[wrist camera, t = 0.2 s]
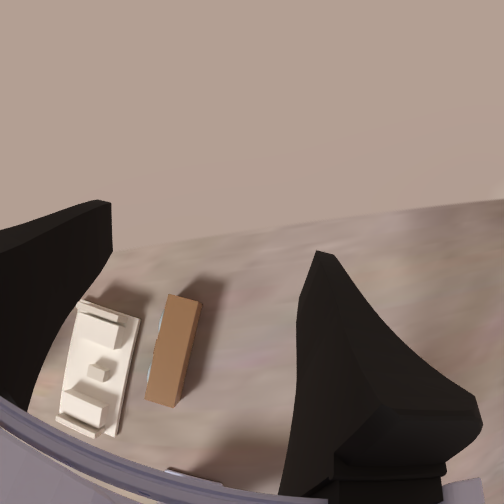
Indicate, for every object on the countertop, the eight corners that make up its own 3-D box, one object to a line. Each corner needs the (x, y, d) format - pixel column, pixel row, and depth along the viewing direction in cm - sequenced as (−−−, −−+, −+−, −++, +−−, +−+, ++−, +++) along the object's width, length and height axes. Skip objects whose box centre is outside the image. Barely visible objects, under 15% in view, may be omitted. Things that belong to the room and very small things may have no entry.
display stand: (116, 435, 36) (104, 444, 31) (62, 410, 36) (46, 417, 31) (141, 319, 40) (129, 317, 35) (83, 299, 40) (68, 296, 35)
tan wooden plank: (180, 400, 38) (173, 408, 33) (151, 391, 38) (141, 398, 33) (202, 304, 41) (198, 301, 36) (173, 296, 41) (166, 293, 36)
